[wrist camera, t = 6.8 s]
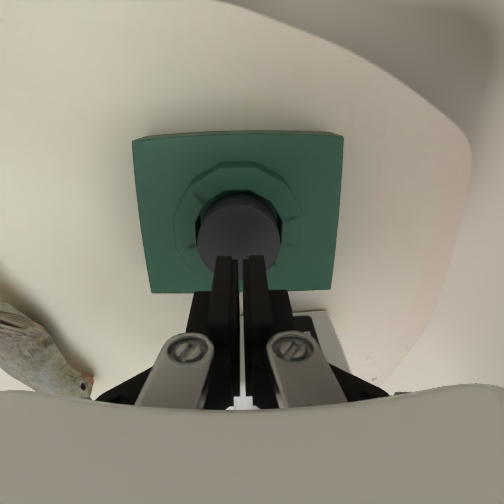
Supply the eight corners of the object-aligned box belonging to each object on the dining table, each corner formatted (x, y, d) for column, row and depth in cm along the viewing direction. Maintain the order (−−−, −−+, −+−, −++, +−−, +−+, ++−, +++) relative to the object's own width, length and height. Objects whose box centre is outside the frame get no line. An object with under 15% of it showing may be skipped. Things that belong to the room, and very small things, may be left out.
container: (232, 314, 25) (230, 461, 13) (328, 308, 25) (378, 443, 14) (238, 379, 28) (240, 505, 17) (320, 373, 29) (350, 493, 17)
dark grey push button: (276, 193, 17) (281, 204, 15) (275, 262, 18) (278, 280, 16) (199, 194, 16) (194, 206, 15) (204, 263, 18) (200, 282, 16)
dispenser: (330, 132, 20) (356, 139, 15) (321, 268, 24) (338, 306, 19) (145, 136, 19) (119, 145, 15) (160, 272, 23) (144, 311, 19)
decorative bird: (83, 385, 29) (61, 438, 22) (-21, 279, 23) (-63, 320, 16) (110, 370, 28) (88, 429, 21) (-4, 251, 22) (-53, 293, 15)
